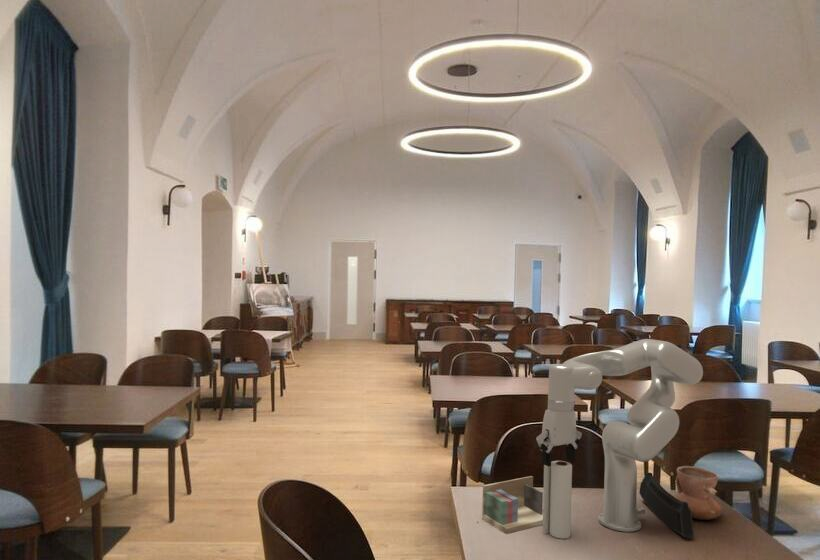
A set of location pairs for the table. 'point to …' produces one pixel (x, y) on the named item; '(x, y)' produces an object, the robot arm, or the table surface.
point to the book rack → (512, 505)
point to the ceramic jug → (698, 491)
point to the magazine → (667, 506)
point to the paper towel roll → (557, 499)
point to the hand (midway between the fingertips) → (558, 463)
